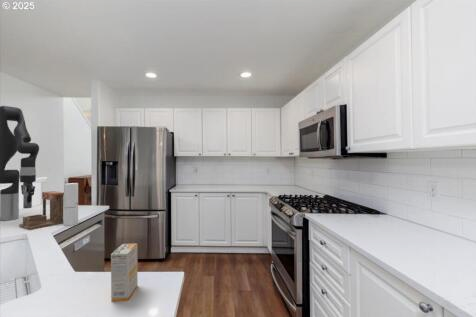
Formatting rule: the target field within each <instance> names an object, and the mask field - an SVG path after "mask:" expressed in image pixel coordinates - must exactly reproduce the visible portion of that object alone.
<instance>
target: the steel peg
mask: <svg viewBox="0 0 476 317" xmlns="http://www.w3.org/2000/svg"><path fill="white" fill-rule="evenodd" d="M22 196H23V199H22V201H23V202H22V203H23V209H32V207H33V201H32V202H27V193H26V192H25V189H24V193H23V194H22Z"/></svg>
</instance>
